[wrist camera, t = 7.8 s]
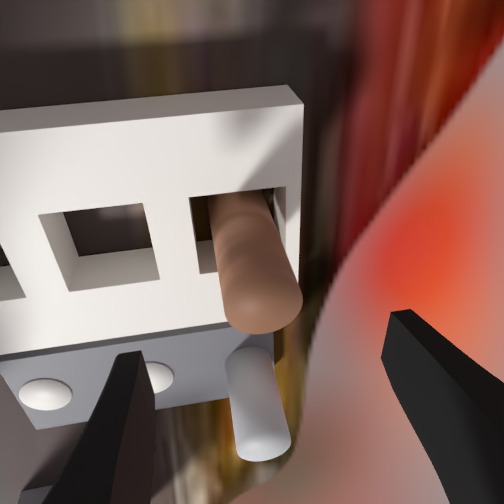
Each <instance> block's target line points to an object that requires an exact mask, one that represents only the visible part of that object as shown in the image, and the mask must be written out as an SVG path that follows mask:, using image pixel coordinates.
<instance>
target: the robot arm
mask: <svg viewBox="0 0 504 504" xmlns="http://www.w3.org/2000/svg"><path fill="white" fill-rule="evenodd" d="M381 359H382V362H383V365H384V367H385V370H386V373H387V376H388V378H389V380H390V383H391V386H392V388H393V390H394V392H395V394H396V396H397V398H398V400H399V402H400V404H401V406H402V408H403V410H404V412H405V413H406V415H407V417H408V419H409V421H410V423H411V425H412V427H413V428H414V430H415V432H416V434H417V436H418V438H419V440H420V441H421V443H422V445H423V447H424V449H425V451H426V453H427V455H428V456H429V458H430V460H431V462H432V464H433V466H434V468H435V470H436V472H437V474H438V476H439V479H440V481H441V483H442V486H443V488H444V490H445V493H446V495H447V498H448V500H449V502H450V504H504V383H503V382H502V381H500V380H499V379H498V378H496V377H495V376H493V375H492V374H491V373H489V372H488V371H487V370H485V369H484V368H482V367H481V366H480V365H478V364H477V363H476V362H475V361H474V360H472V359H471V358H469V357H468V356H467V355H466V354H465V353H463V352H462V351H461V350H460V349H458V348H457V347H456V346H455V345H453V344H452V343H451V342H450V341H449V340H447V339H446V338H445V337H444V336H442V335H441V334H440V333H439V332H437V331H436V330H435V329H434V328H433V327H432V326H430V325H429V324H428V323H427V322H425V321H424V320H423V319H422V318H421V317H420V316H418V315H417V314H416V313H415V312H414V311H412V310H411V309H407V310H401V311H395V312H391V314H390V318H389V323H388V327H387V332H386V337H385V341H384V346H383V351H382V355H381ZM155 436H156V414H155V394H154V390H153V387H152V384H151V380H150V377H149V374H148V370H147V367H146V364H145V360H144V357H143V354H142V350H139V351H133V352H126V353H120V354H118V355H117V356H116V357H115V360H114V363H113V366H112V368H111V371H110V373H109V376H108V378H107V381H106V383H105V386H104V388H103V390H102V392H101V395H100V397H99V399H98V401H97V404H96V406H95V408H94V410H93V412H92V414H91V416H90V418H89V420H88V422H87V424H86V426H85V428H84V430H83V432H82V434H81V436H80V438H79V440H78V442H77V444H76V445H75V447H74V449H73V451H72V453H71V455H70V456H69V458H68V460H67V462H66V464H65V466H64V467H63V469H62V471H61V472H60V474H59V476H58V478H57V479H56V481H55V483H54V484H53V486H52V488H51V489H50V491H49V492H48V494H47V496H46V497H45V499H44V500H43V502H42V503H41V504H150V499H151V487H152V474H153V462H154V449H155Z"/></svg>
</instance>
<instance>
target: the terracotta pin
mask: <svg viewBox="0 0 504 504" xmlns="http://www.w3.org/2000/svg"><path fill="white" fill-rule="evenodd" d="M207 207H208V213H209V220H210V226H211V232H212V238H213V244H214V251H215V257H216V263H217V269H218V275H219V282H220V288H221V294H222V300H223V307H224V313H225V317H226V319H227V321H228V322H229V324H230V325H231V326H232V327H234V328H235V329H237V330H239V331H241V332H244V333H248V334H266V333H270V332H274V331H277V330H279V329H281V328H283V327H285V326H286V325H288V324H289V323H290V322H292V321H293V320H294V319H295V317H296V316H297V315H298V313H299V312H300V310H301V307H302V303H303V296H302V293H301V290H300V287H299V285H298V282H297V280H296V277H295V275H294V272H293V270H292V267H291V264H290V262H289V259H288V257H287V254H286V252H285V249H284V246H283V244H282V241H281V239H280V236H279V234H278V231H277V229H276V226H275V223H274V221H273V218H272V216H271V213H270V211H269V208H268V206H267V203H266V200H265V198H264V195H263V193H262V190H261V189H257V190H248V191H239V192H231V193H222V194H213V195H208V197H207Z"/></svg>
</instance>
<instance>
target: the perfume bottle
mask: <svg viewBox="0 0 504 504" xmlns="http://www.w3.org/2000/svg"><path fill="white" fill-rule="evenodd" d="M52 486H53V485H50V486H45V487H40V488H35V489H30V490H25V491H21V494H20V498H19V502H18V504H41V503H42V502H43V500H44V499H45V497H46V496H47V494H48V492H49V491H50V489H51V488H52Z"/></svg>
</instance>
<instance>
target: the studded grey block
mask: <svg viewBox="0 0 504 504" xmlns="http://www.w3.org/2000/svg"><path fill="white" fill-rule="evenodd" d="M139 350H142V354H143V357H144V360H145V364H146V367H147V370H148V374H149V377H150V380H151V384H152V387H153V390H154V394H155V410H158V409H164V408H170V407H176V406H182V405H188V404H194V403H200V402H206V401H212V400H218V399H224V398H230V405H231V413H232V420H233V427H234V434H235V442H236V449H237V454H238V455H239V456H240V457H241V458H242V459H245V460H248V461H265V460H269V459H272V458H275V457H277V456H279V455H281V454H283V453H284V452H285V451H286V450H287V449H288V448H289V447H290V445H291V438H290V434H289V430H288V426H287V422H286V418H285V414H284V410H283V406H282V402H281V398H280V394H279V390H278V386H277V382H276V378H275V374H274V332H270V333H266V334H248V333H244V332H241V331H239V330H237V329H235V328H234V327H232V326H231V325H230V324H229V322H228V321H227V322H220V323H213V324H206V325H200V326H193V327H186V328H179V329H173V330H166V331H159V332H152V333H145V334H139V335H132V336H125V337H118V338H112V339H105V340H98V341H91V342H84V343H78V344H71V345H64V346H57V347H51V348H44V349H37V350H30V351H23V352H17V353H10V354H3V355H0V373H1V375H2V376H3V378H4V379H5V381H6V383H7V384H8V386H9V387H10V389H11V390H12V392H13V394H14V395H15V397H16V398H17V400H18V402H19V403H20V405H21V406H22V408H23V409H24V411H25V413H26V414H27V416H28V417H29V419H30V420H31V422H32V424H33V425H34V427H35V428H36V430H38V429H44V428H50V427H56V426H62V425H68V424H74V423H80V422H86V421H88V420H89V418H90V416H91V414H92V412H93V410H94V408H95V406H96V404H97V401H98V399H99V397H100V395H101V392H102V390H103V388H104V386H105V383H106V381H107V378H108V376H109V373H110V371H111V368H112V366H113V363H114V360H115V357H116V356H117V355H118V354H120V353H126V352H133V351H139Z"/></svg>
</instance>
